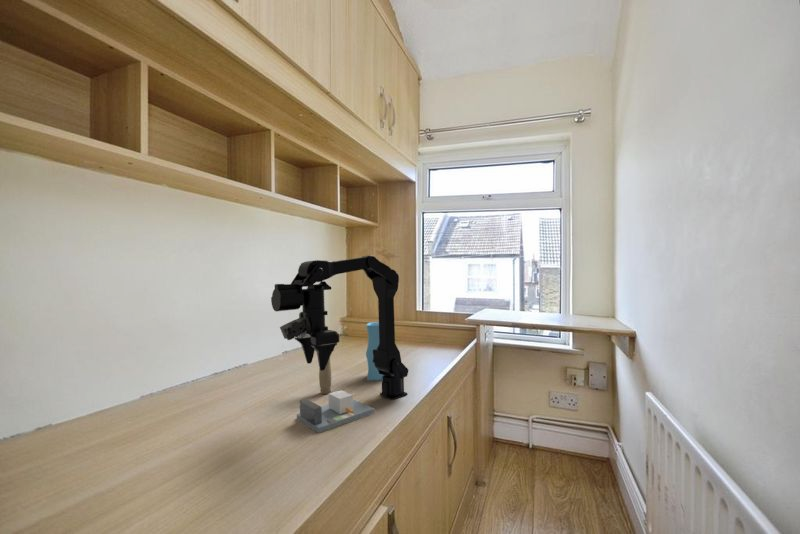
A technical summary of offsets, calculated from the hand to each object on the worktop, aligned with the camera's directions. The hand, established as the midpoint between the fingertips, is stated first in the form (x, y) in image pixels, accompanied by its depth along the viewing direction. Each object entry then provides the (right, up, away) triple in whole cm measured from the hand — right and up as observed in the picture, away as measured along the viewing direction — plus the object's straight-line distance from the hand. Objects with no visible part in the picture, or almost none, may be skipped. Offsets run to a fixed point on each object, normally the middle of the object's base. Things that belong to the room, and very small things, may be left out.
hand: (315, 366), depth 91 cm
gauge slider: (+7, -13, +2) cm, 15 cm away
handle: (-2, -15, +22) cm, 26 cm away
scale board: (+5, -14, +2) cm, 15 cm away
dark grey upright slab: (-1, -13, -3) cm, 13 cm away
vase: (+15, -15, +38) cm, 43 cm away
